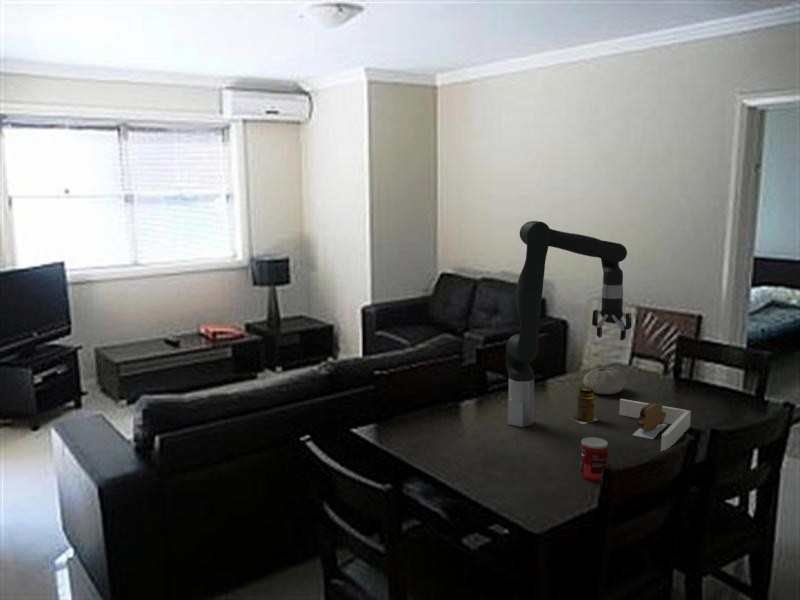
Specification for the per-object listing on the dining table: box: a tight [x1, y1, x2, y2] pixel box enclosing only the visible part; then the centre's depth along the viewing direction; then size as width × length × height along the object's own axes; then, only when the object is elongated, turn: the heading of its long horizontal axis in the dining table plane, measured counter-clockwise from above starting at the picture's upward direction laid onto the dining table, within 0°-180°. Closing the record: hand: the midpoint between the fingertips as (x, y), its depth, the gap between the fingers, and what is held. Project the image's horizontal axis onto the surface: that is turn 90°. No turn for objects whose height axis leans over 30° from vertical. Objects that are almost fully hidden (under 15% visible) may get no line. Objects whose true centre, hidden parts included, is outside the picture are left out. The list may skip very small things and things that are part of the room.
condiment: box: [568, 386, 599, 425], centre depth 259 cm, size 7×8×12 cm
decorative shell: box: [582, 367, 628, 395], centre depth 293 cm, size 18×18×10 cm
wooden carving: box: [634, 402, 666, 431], centre depth 247 cm, size 16×5×10 cm, turn 132°
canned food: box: [580, 436, 609, 482], centre depth 210 cm, size 8×8×11 cm
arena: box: [618, 398, 692, 452], centre depth 246 cm, size 30×26×6 cm
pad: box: [632, 423, 668, 440], centre depth 248 cm, size 17×7×1 cm, turn 143°
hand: (611, 338), depth 260 cm, fingers open, 8 cm apart
